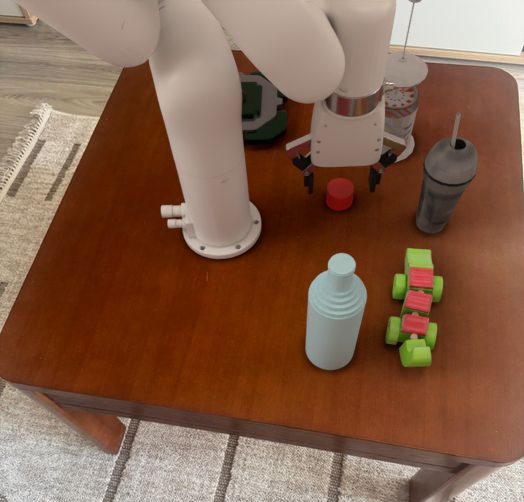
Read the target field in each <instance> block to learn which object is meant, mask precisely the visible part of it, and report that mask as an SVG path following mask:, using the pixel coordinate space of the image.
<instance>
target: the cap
mask: <svg viewBox="0 0 524 502" xmlns="http://www.w3.org/2000/svg"><path fill="white" fill-rule="evenodd" d="M354 195H355V185H354V183H353V182H352V181H351V180H350V179H347V178H344V177H336V178H334V179H331V180H330V181H329V182H328V184H327V186H326V196H325V203H326V205H327V207H328V208H329V209H331V210H333V211H337V212H338V211H339V212H340V211H346V210H348V209H349V208H350V207H351V206H352V204H353V201H354Z"/></svg>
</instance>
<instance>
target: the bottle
mask: <svg viewBox="0 0 524 502" xmlns="http://www.w3.org/2000/svg"><path fill="white" fill-rule="evenodd" d="M356 268H357V261H356V260H355V259H354V257H352V256H351V255H350V254H348V253H344V252H339V253H335V254H334V255H332V256H331V257H330V258H329V259H328V261H327V270H324V271H323V272H321V273H319V274H318V275H317V276H316V277H315V278H314V279H313V280H312V281H311V284H310V285H309V288H308V291H307V292H308V295H307V311H306V313H307V314H306V333H305V346H304V347H305V354H306V357H307V359H308V360H309V361H310V363H312V364H313V365H314V366H315V367H317V368H319V369H322V370H325V371H335V370H339V369H342V368H344V367H346V366H347V365H348V364H349V363H350V362H351V361H352V358H353V356H354V354H355V350H356V345H357V342H358V337H359V333H360V328H361V325H362V320H363V316H364V312H365V308H366V304H367V300H368V292H367V289H366V286H365V284H364V282H363V281H362V279H361V278H360V277H359V276H358V275H357V274H355V272H356Z"/></svg>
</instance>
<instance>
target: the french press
mask: <svg viewBox="0 0 524 502" xmlns="http://www.w3.org/2000/svg"><path fill="white" fill-rule="evenodd" d="M408 2H410V3H412V6H411V11H410V16H409V20H408V21H409V22H408V26H407V32H406V36H405V41H404V46H403V51H393V52H390V53H388V58H387V63H386V69H385V75H384V77H385V79H388V80H394V90H393V92H387V93H384V97H385V112H388V114H387V113H385V125H384V131H385V132H387V133H390V134H392V135H394V136H397V137H399V138H402V139H404V140H405V142H406V149H405V150H404V151H403V153H402V154H401V155H400V156H398V157H397V160H396V161H395V162H394V163H398V162H400V161H403V160H405V159H407V158H408V157H409V156H410V155H411V154H412V153H413V151H414V148H415V139H414V136H413V135H412V133H413V129H414V125H415V121H416V116H417V112H418V109H419V97H420V93H419V89H418V87H416V86H418V85H420V84H421V83H422V82H424V80H426V78H427V76H428V73H429V69H428V68H429V67H428V64H427V63H426V62H425V61H424V60H423V58H421V57H419V56H418V55H415V54H413V53H411V52H408V51H406V47H407V42H408V38H409V33H410V29H411V24H412V23H411V22H412V19H413V13H414V7H415V4H418V3H421V2H422V0H408ZM411 107H412V108H411ZM405 109H406V110H407V111H408V112H409V113H410V114H409V113H408V112H407V111H406V110H405ZM397 111H399V112H400V113H401V114H402V115H404V116H402V115H401V114H400V113H398V112H397ZM389 113H392V114H393V115H394V116H395V117H394V116H393V115H392V114H389ZM389 149H392V148H390V147H388V146H385V145H382V152H381V153H382V154H384V153H385V152H386V151H388V150H389Z"/></svg>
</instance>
